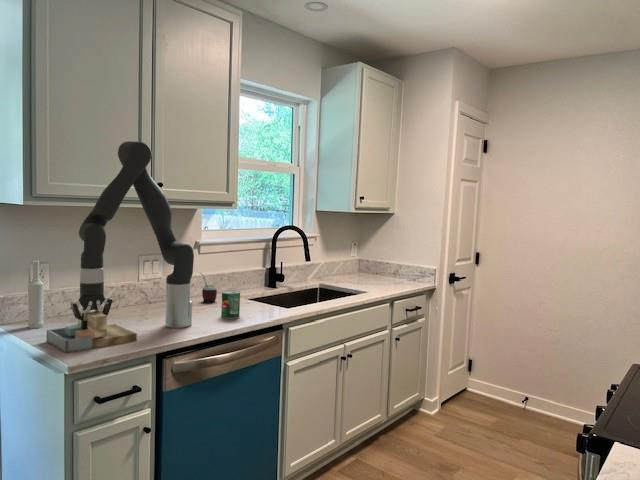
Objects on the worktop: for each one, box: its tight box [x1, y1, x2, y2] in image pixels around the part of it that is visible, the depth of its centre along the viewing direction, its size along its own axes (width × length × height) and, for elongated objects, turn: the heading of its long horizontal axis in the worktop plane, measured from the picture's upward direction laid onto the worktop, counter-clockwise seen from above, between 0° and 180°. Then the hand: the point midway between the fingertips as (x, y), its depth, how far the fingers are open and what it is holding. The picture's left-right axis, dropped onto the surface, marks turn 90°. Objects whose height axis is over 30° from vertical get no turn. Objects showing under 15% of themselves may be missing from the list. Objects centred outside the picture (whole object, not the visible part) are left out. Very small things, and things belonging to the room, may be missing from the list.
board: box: [73, 323, 138, 349], centre depth 175 cm, size 16×17×2 cm
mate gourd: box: [199, 272, 218, 304], centre depth 245 cm, size 8×8×15 cm
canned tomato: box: [220, 289, 241, 320], centre depth 217 cm, size 8×8×11 cm
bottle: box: [27, 260, 45, 329], centre depth 186 cm, size 5×5×25 cm
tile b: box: [75, 329, 94, 339], centre depth 166 cm, size 4×4×2 cm
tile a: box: [64, 323, 83, 336], centre depth 172 cm, size 4×4×2 cm
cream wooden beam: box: [77, 309, 108, 338], centre depth 172 cm, size 4×14×7 cm, turn 47°
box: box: [46, 327, 93, 354], centre depth 167 cm, size 8×17×4 cm, turn 47°
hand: (91, 329), depth 172 cm, fingers closed on cream wooden beam, 4 cm apart
